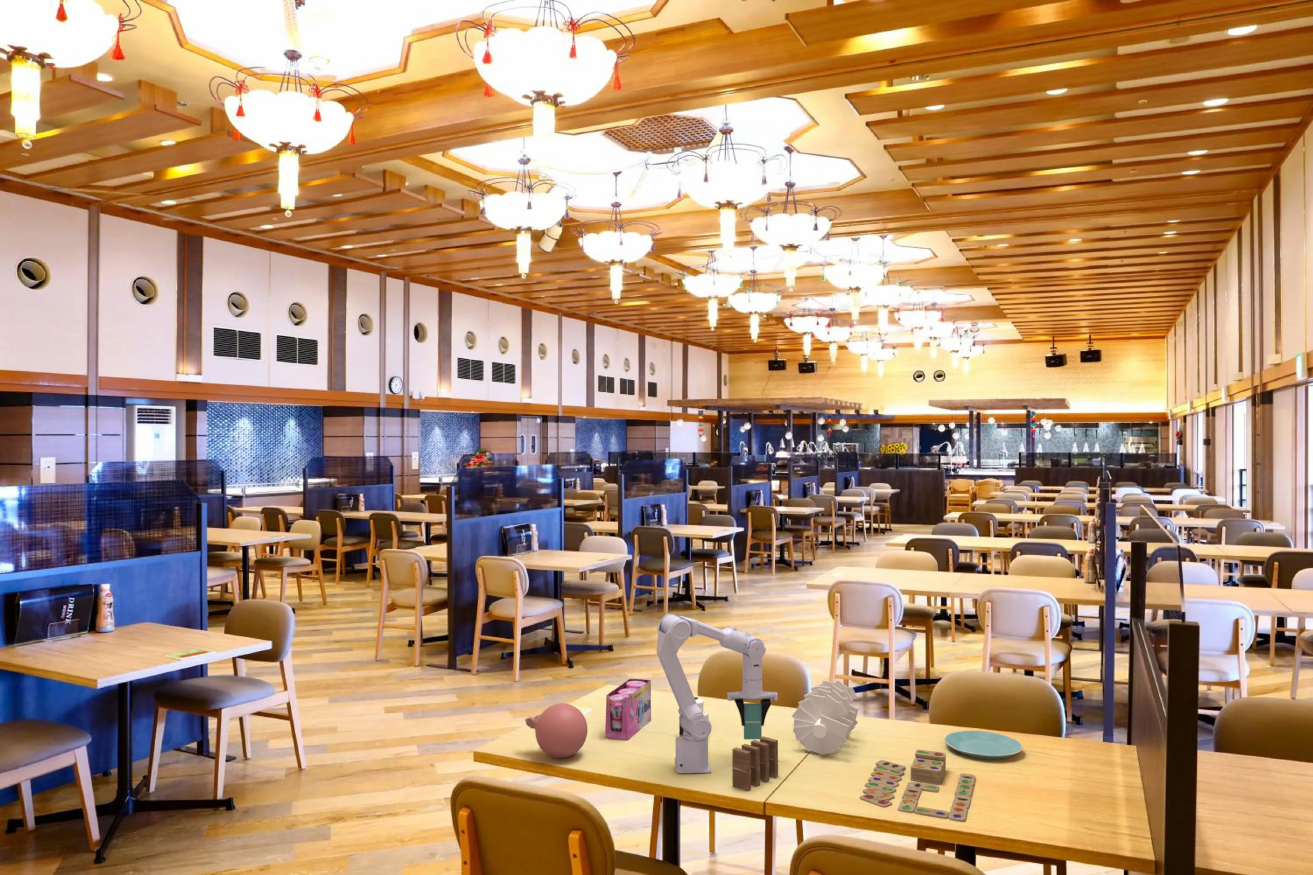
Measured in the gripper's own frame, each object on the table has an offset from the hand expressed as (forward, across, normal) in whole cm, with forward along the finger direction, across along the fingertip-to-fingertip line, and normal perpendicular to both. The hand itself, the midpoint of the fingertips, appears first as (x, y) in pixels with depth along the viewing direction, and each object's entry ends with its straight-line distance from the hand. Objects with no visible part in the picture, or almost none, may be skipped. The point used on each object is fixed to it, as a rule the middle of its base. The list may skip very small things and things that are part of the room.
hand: (752, 724), depth 251 cm
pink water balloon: (+11, +58, -6) cm, 60 cm away
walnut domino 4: (+10, -3, +11) cm, 16 cm away
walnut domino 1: (+10, +6, +20) cm, 24 cm away
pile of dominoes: (+11, -41, +22) cm, 48 cm away
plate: (+11, -71, -8) cm, 72 cm away
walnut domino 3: (+10, 0, +14) cm, 18 cm away
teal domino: (+4, 0, 0) cm, 4 cm away
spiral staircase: (+11, -24, -13) cm, 30 cm away
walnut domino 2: (+10, +3, +18) cm, 21 cm away
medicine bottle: (+11, +16, -22) cm, 29 cm away
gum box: (+11, +37, -31) cm, 49 cm away
